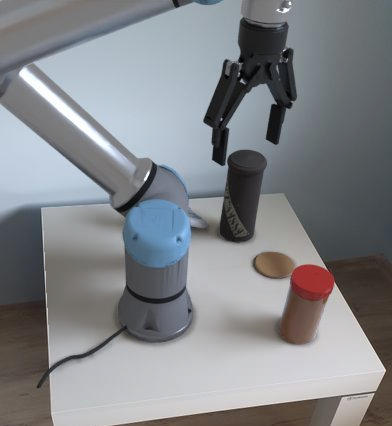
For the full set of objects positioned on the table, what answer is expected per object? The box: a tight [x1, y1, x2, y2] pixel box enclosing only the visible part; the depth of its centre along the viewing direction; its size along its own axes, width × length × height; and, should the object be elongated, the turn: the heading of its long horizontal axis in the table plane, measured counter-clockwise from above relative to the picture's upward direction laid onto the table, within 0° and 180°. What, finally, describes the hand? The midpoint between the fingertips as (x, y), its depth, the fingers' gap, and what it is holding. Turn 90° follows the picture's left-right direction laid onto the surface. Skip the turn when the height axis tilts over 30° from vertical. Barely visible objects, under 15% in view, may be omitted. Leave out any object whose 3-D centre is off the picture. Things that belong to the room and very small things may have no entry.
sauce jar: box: [278, 285, 330, 345], centre depth 102 cm, size 8×8×14 cm
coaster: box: [254, 251, 296, 280], centre depth 120 cm, size 9×9×1 cm
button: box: [188, 206, 209, 230], centre depth 126 cm, size 10×2×10 cm
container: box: [218, 149, 268, 243], centre depth 121 cm, size 9×9×20 cm
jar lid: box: [289, 263, 336, 300], centre depth 97 cm, size 8×8×2 cm
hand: (246, 152), depth 95 cm, fingers open, 13 cm apart
